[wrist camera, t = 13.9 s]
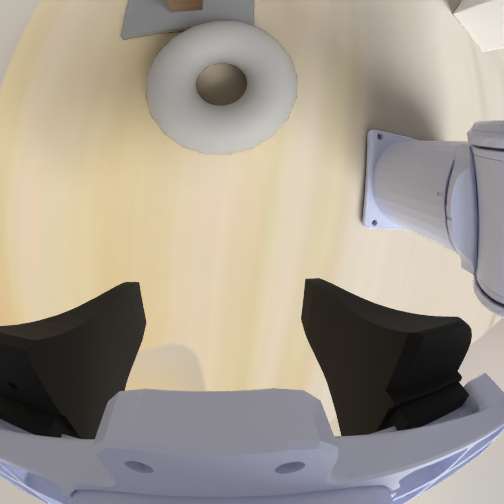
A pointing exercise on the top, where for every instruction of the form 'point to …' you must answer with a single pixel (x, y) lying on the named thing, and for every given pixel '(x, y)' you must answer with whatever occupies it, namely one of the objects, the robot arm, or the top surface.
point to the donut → (221, 116)
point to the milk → (483, 22)
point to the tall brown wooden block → (184, 5)
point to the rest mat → (181, 16)
